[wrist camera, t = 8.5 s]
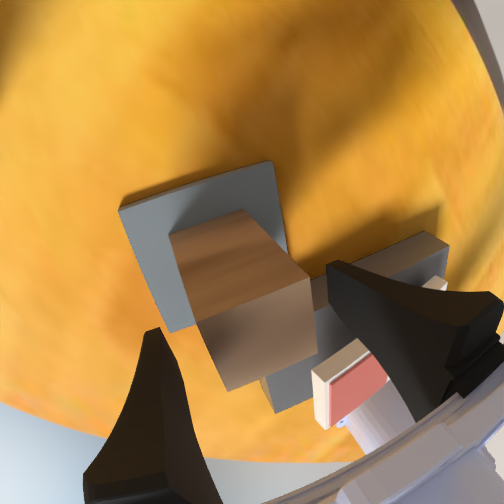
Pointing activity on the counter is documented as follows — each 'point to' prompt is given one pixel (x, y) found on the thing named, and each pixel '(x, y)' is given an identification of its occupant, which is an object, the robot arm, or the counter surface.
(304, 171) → the counter surface
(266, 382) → the switch housing
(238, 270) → the brown rectangular block
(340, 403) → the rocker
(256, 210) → the mat
